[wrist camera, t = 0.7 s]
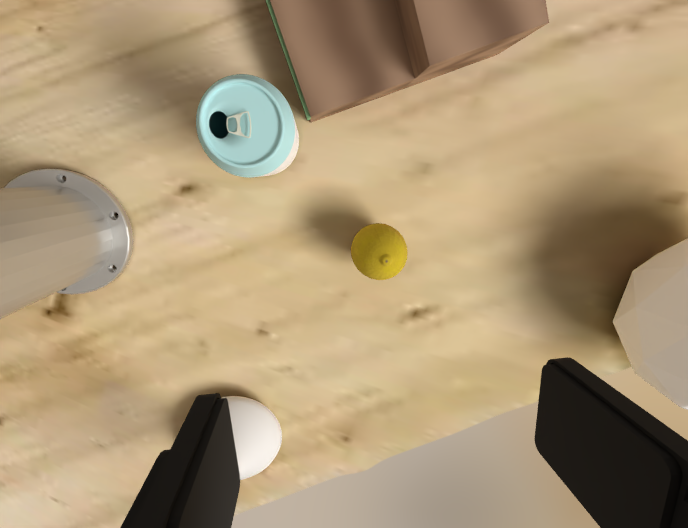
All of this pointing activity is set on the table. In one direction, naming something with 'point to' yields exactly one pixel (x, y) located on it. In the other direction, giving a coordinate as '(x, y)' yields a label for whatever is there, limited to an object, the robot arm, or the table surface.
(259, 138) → the can
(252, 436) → the flower in vase
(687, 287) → the ball
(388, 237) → the lemon
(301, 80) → the stand
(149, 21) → the table surface
